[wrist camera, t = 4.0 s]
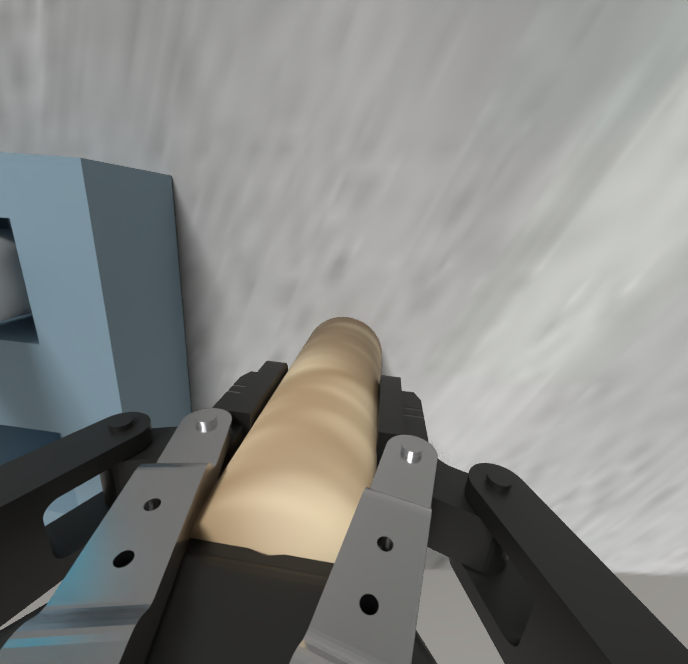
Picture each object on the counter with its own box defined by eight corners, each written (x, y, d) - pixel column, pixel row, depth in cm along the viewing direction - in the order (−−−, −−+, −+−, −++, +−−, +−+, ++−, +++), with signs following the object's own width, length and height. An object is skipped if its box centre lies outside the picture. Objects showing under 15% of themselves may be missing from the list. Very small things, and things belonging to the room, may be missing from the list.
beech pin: (385, 321, 15) (383, 534, 5) (377, 390, 17) (361, 675, 6) (308, 312, 16) (160, 497, 5) (305, 381, 17) (180, 638, 7)
